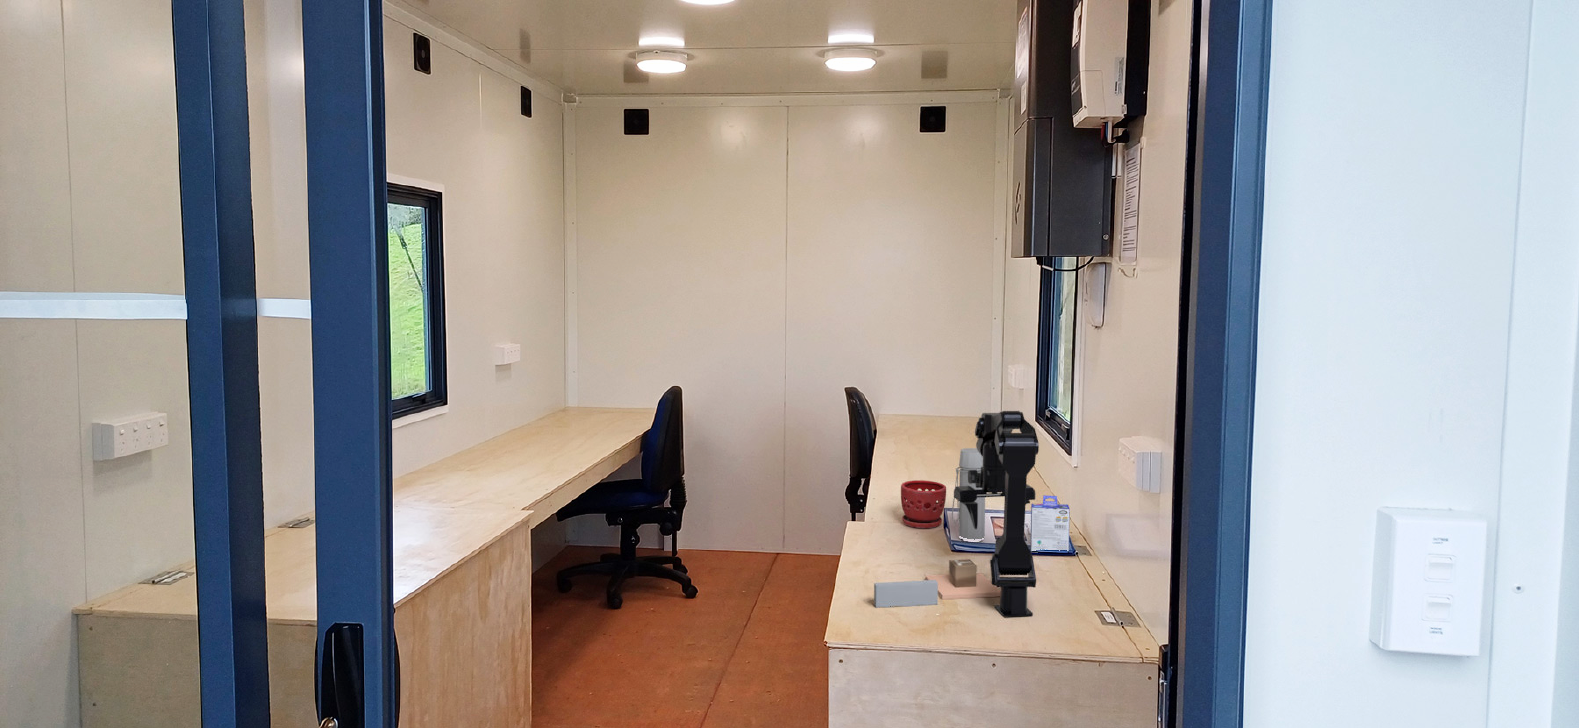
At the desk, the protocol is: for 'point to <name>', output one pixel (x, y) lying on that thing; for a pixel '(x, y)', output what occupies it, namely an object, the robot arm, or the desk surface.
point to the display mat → (964, 588)
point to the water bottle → (974, 461)
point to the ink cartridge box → (1050, 525)
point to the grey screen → (906, 593)
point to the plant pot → (922, 503)
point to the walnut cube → (962, 573)
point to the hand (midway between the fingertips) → (993, 527)
